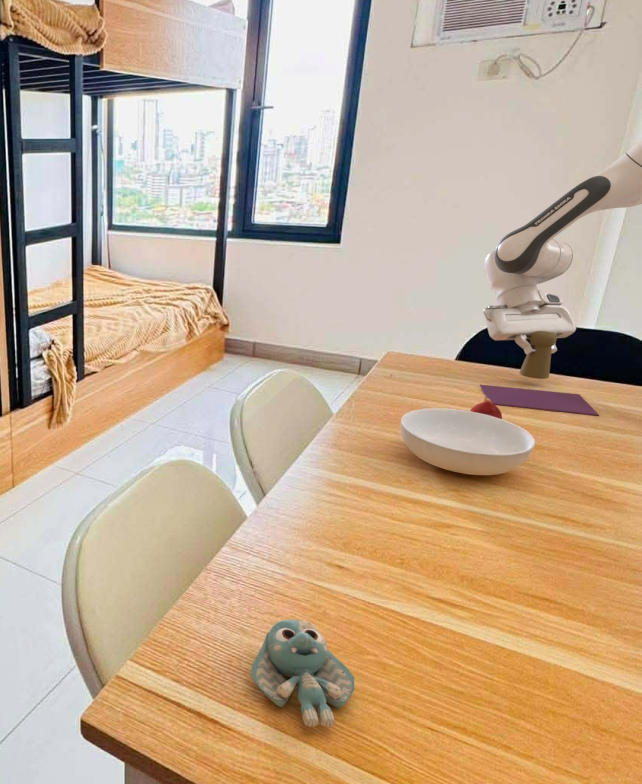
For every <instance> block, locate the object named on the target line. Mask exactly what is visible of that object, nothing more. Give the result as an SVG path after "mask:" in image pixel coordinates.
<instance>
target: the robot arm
mask: <svg viewBox="0 0 642 784" xmlns="http://www.w3.org/2000/svg"><path fill="white" fill-rule="evenodd" d="M639 205H642V138H641V139H640V140H639V141H637V142H636V143H634V144H633V145H632V146H631V147H630V148H629V149H628V150H627V151H625V152H624V153H623V154H622V155H621V156H620V157H618V158H617V159H616V160H615V161H613V162H612V163H611V164H609V165H608V166H607V167H606V168H604V169H603V170H602V171H600V172H598V173H597V174H595V175H594V176H591V177H589V178H588V179H586V180H584V181H582V182H581V183H579V184H577V185H576V186H575V187H573V188H572V189H571V190H568V192H566V193H565V194H564V195H562V196H561V197H559V198H558V199H557V200H555V202H553V203H552V204H550V206H548V207H547V208H546V209H545V210H543V211H542V212H540V213H539V214H538V215H537V216H535V217H534V218H533V219H531V220H530V221H529V222H528V223H526V224H525V225H523V226H521V227H519V228H516V229H515V230H513V231H510V232H509V233H507V234H506V235H505V236H503V237H502V238H501V239H500V240H499V242H498V244H497V245H496V247H495V249H494V250H492V251H491V252H490V253H489V254H488V255H487V257H485V259H484V265H483V268H484V273H485V277H486V279H487V282H488V285H489V287H490V289H491V290H492V291H493V292H494V294H495V301H496V304H497V305H488V306H487V307H485V308H484V309H483V315H484V318H485V324H486V328H487V332H488V335H489V337H490V338H491V339H492V340H494V341H514V342H515V344H517V345H518V346H519V347H520V348H521V349H523V351H524V354H525V355H527V354H532V353H534V352H536V349H535V346H534V345H531V343H530V341H528V340H530V336H531V334H532V333H533V332H536V331H547V332H551V333H554V334H555V335H556V337H557V339H565V338H566V339H567V338H568V337H569V336H571V335H572V334H574V333H575V332H576V330H577V325H576V323H575V320H574V318H573V316H572V314H571V313H570V311H569V309H568V308H567V307H566V306H565V305H563V304H564V301H565V300H564V299H563V297H562V296H560V295H557V294H551V293H549V292H545V291H543V290H539V289H538V287H537V285H539V284H542V283H545V282H548V281H551V280H553V279H555V278H558V277H560V276H562V275H563V274H564V273H566V271H568V270H569V268H570V267H571V264H572V262H573V259H574V254H573V250H572V248H571V246H570V245H569V244H568V243H567V242H564V241H562V240H561V241H560V240H557V239H554V238H556V237H557V236H558V235H560V234H561V233H562V232H564V231H565V230H566V229H567V228H569V227H570V226H572V225H573V224H574V223H575V222H577V221H578V220H580V219H581V218H583V217H585V216H587V215H589V214H592V213H595V212H599V211H604V210H612V209H621V208H622V209H624V208H625V209H626V208H631V207H632V208H633V207H637V206H639ZM557 351H558V348H557V346H556V343H555V344H554V345H553V346H552V350H551V354H555V353H556V352H557Z"/></svg>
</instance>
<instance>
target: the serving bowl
mask: <svg viewBox="0 0 642 784" xmlns="http://www.w3.org/2000/svg"><path fill="white" fill-rule="evenodd" d="M400 433H401V438H402V440H403V442H404V444H405V446H406V447H407V449H409V450H410V452H411V453H412V454H414V455H415V457H418V458H419V459H421V460H422V461H424V462H425V463H428V464H430V465H432V466H434V467H437V468H440V469H443V470H446V471H450V472H454V473H458V474H464V475H473V476H496V475H500V474H502V475H503V474H505V473H509V472H511V471H514V470H515V469H517V468H519V467H521V466H522V465H523V464H524V463H525V462H526V461H528V459H529V458H530V456H531V455H532V452H533V451H534V448H535V446H536V439H535V438H534V437H533V435H532V434H531V433H530V432H529V431H527V430H526V429H525V428H523V427H522V426H519V425H518V424H516V423H512V422H510V421H508V420H506V419H503V418H502V419H499V418H496V417H493V416H489V415H486V414H481V413H476V412H471V411H470V410H464V409H455V408H447V407H446V408H445V407H430V408H429V407H428V408H418V409H414V410H411V411H408V412H406V413H404V414H403V416H402V417H401V418H400Z"/></svg>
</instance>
